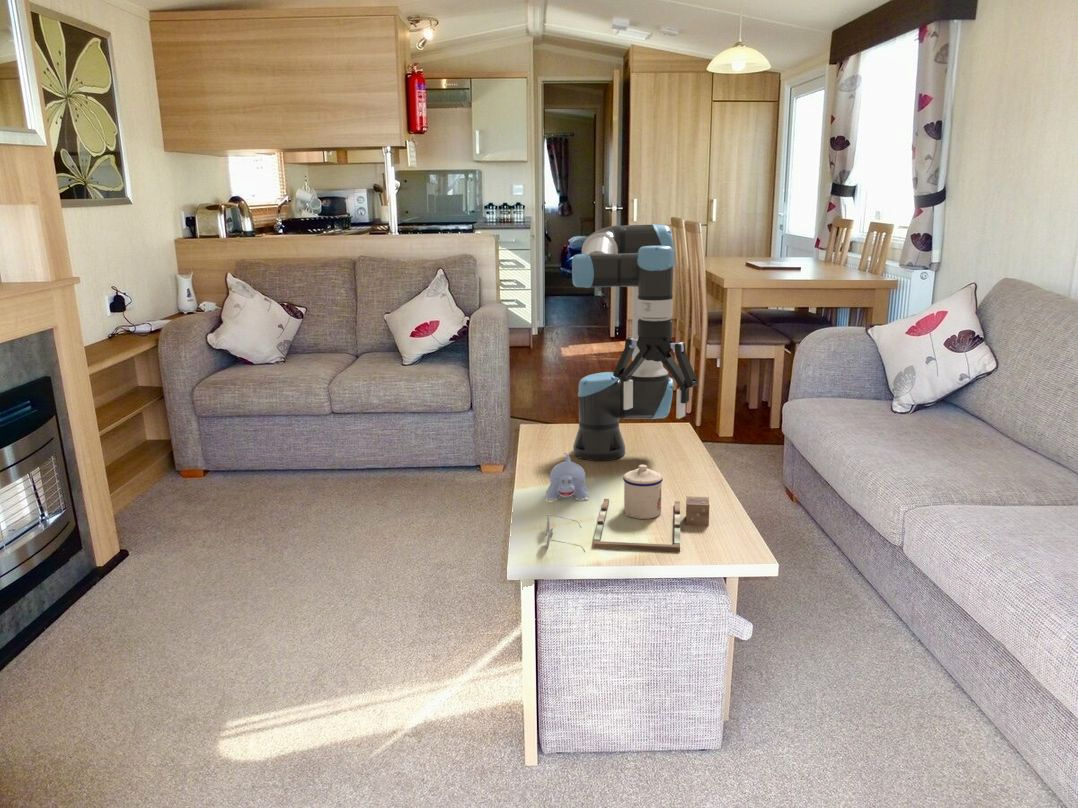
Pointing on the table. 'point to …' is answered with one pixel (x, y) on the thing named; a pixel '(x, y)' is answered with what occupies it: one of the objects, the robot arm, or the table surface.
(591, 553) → the table surface
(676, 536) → the track
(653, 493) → the teacup with lid
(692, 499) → the die
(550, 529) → the sunglasses
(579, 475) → the hippopotamus toy
